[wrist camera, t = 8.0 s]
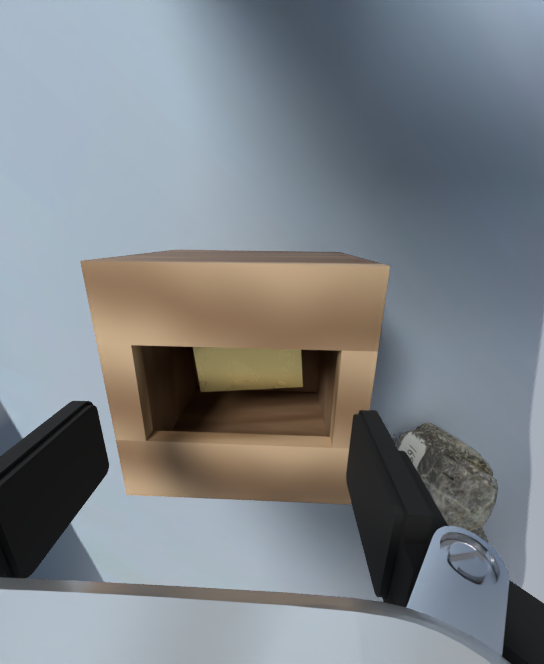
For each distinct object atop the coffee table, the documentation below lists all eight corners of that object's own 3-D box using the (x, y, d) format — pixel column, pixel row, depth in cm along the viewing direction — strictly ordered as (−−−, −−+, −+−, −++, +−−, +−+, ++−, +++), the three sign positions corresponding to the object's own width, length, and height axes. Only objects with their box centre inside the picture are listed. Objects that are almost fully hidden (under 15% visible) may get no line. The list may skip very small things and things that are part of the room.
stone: (349, 411, 29) (411, 433, 19) (413, 410, 30) (501, 430, 20) (355, 557, 27) (425, 662, 18) (422, 550, 29) (523, 645, 19)
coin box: (174, 249, 21) (80, 261, 11) (339, 252, 20) (390, 265, 11) (188, 393, 25) (126, 494, 15) (327, 397, 24) (356, 504, 15)
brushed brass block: (216, 316, 21) (192, 344, 16) (295, 310, 21) (300, 338, 15) (221, 352, 22) (200, 392, 17) (297, 348, 22) (302, 387, 16)
